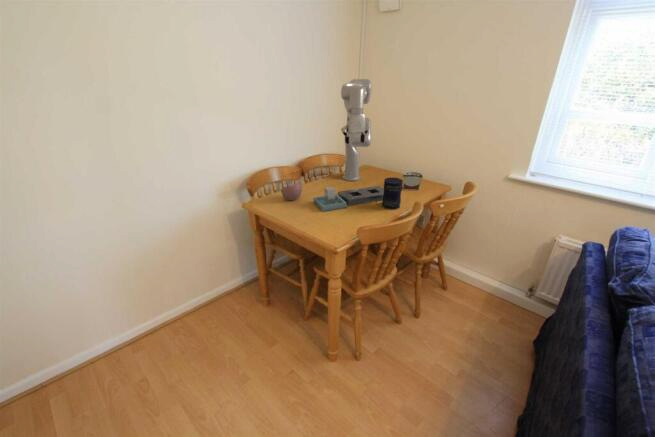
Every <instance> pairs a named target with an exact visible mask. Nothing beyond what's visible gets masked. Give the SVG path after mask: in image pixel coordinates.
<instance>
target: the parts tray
mask: <svg viewBox="0 0 655 437" xmlns="http://www.w3.org/2000/svg"><path fill="white" fill-rule="evenodd" d="M313 204H315V205H316V206H317V207H318V209H320V211H321V212H323V213H325V212H331V211H336V210H341V209H347V208H348V207H347V206H348V205H347V203H346V202H345V201H344V200H343V199H341V198H340V197H339V196H338V194H337V193H335V204H331V205H326V204H325V195H323V196H315V197H313Z"/></svg>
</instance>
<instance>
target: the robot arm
mask: <svg viewBox="0 0 655 437" xmlns="http://www.w3.org/2000/svg"><path fill="white" fill-rule="evenodd" d="M340 89H341V90H340V96H341V99H342V100H343V104H344V108H345V109H346V110H345V111H346V117H347V118H346V124H345V126H343V127H341V128H340V131H341V132H342V135H343V136H344V145H345V149H344V150H345V159H344V171H343V172H344V174H343V175H342V179H343V180H345V181H348V182H354V181H357V182H358V181H359V180H361V175H359V172H360V151H359V149H358V147H361V148H368V147H370V146H371V144H372V122H371V119H370V118H369V117H366V116H365V113H364V105H368V104H369V102H370V100H371V95H372V82H371V80H370V79H368V78H364V79H363V78H355V79H352V80H350V81H349V82H347V83H344V84H342V86H341V87H340ZM345 130H346V131H345Z"/></svg>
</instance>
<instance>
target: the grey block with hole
mask: <svg viewBox="0 0 655 437" xmlns="http://www.w3.org/2000/svg"><path fill="white" fill-rule="evenodd" d="M337 195H338V196H339V197H340V198H341V199H343V200H344V201H345V202H346V203H347V206H348V207H349V206H357V205H362V204H368V203H373V202H374V203H375V202H379V201H382V200H383V195H384V187H381V185H374V186H369V187H363V188H362V187H361V188H356V189H355V188H354V189H347V190H346V189H345V190H342V191H341V190H340V191H337Z"/></svg>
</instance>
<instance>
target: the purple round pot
mask: <svg viewBox="0 0 655 437" xmlns="http://www.w3.org/2000/svg"><path fill="white" fill-rule="evenodd" d="M290 182H291V180H290V179H288V181H286V183H285V185H286V187H282V188H281V189H280V193H281V195H282V197H283V198H284V199H286V200H288V201H294V200H297V199H299V198H300V197H301V195H302V192H303V187H302V185H301V183H300V182H298V183H294V184H291V185H290Z"/></svg>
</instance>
